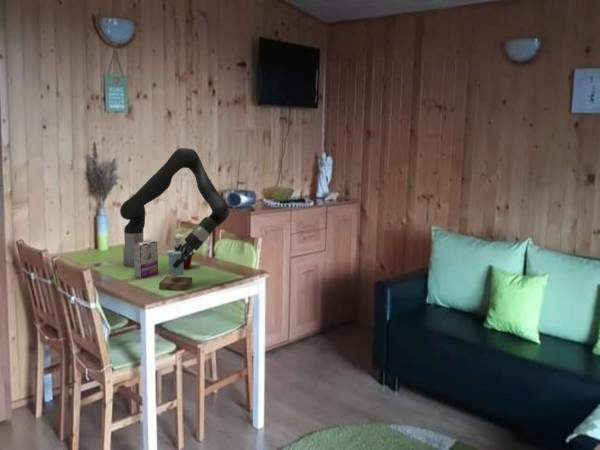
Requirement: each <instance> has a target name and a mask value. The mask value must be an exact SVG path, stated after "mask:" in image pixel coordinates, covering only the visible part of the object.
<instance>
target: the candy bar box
mask: <svg viewBox="0 0 600 450" xmlns="http://www.w3.org/2000/svg"><path fill="white" fill-rule="evenodd" d="M158 253H159V251H158V240H155V239H154V240H153V239H149V240H145V241H144V240H143V242H139V243H135V244H134V267H133V268H134V277H135V278H138V279H144V278H149V277H152V276H154V275H158V274H159V262H158V261H159V259H158V256H159V255H158Z"/></svg>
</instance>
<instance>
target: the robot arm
mask: <svg viewBox="0 0 600 450" xmlns="http://www.w3.org/2000/svg"><path fill="white" fill-rule="evenodd" d="M182 169H188V170H190V171H191V172H192V174H193V176H194V177H195V180H196V185H197V187H196V188H197V189H198V191H199V194H200V195H201V196H202V198H203V199H204V200H205V202H206V203H207V204H208V205H209V207H210V209H211V211H212V213H211V214H209V216H206V217H204V218H203V219H201V220H200V222H199V223H198V224H197V225H196V226H195V227H194V228H193V229H192V230H191V232H190V233H188V234H187V236H186V237H185V238H184V241H185V242H184V243H185V244H184V245H183V246H182V245H181V244H180V245H179V246H178V248H177V249H176V251H178V252H181V256H180V257H179V260H177V261H176V262H175V263H174V264H173V267H174V268H177V267H178V266H179V265H180V264H181V263H183V262H186V261H187V260H188V259H189V258H190V257H192V258H193V256H194V255H195V252H194V250H195V251H199V249H200V248H201V246H202V245H203V244H204V243H205V242H206V241H207V240H208V238H209V236H211V235H212V233H213V232H214V231H215V229H216V228H218V227H219V226H220V225H221V224H223V223H224V222H225V221H226V220H227V218H229V214H230V210H229V205H228V204H227V202H226V201H225V200H224V198H222V196H221V195H220V193H219V192H218V190H217V188H216V187H215V186H214V184H213V182H212V181H211V179H210V178H209V176H208V174H207V171H206V169H205V168H204V165H203V163H202V161H201V159H200V156H199V154H198V153H197V151H196V150H194V149H192V148H183V147H180V148H177V149H176V150H175V151H174V152H173V153H172V155H170V157H169V159H167V161H166V162H165V163H164V164H163V165H162V166H161V167H160V168H159V169H158V170H157V171H156V172H155V173H154V174H153V175H152V176H151V177H150V178H149V179H148V180H147V181H146V183H144V184H143V185H142V186H141V187H140V188H139V190H137V191H136V193H134V194H133V195H132V196H131V197H130V198H128V199H127V200H126V201H124V203H122V205H121V206H120V211H119V213H120V217H121V218H123V219H124V220H129V221H128V223H127V224H126V225H125V226H124V228H123V230H124V231H123V232H124V234H123V235H124V247H123V248H122V250H123V251H122V253H123V255H122V256H123V267H126V268H127V267H128V268H134V244H135V243H139V242H144V228H145V225H146V208H145V205H147V204H149V203H150V202H153V201H155V200H156V199H157V198H158V197H161V195H163V194H164V193H165V192H166V191H167V190H168V188H170V185H171V183H172V179H173V177H174V176H175V174H177V172H179V171H180V170H182ZM182 256H183V257H182Z"/></svg>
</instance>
